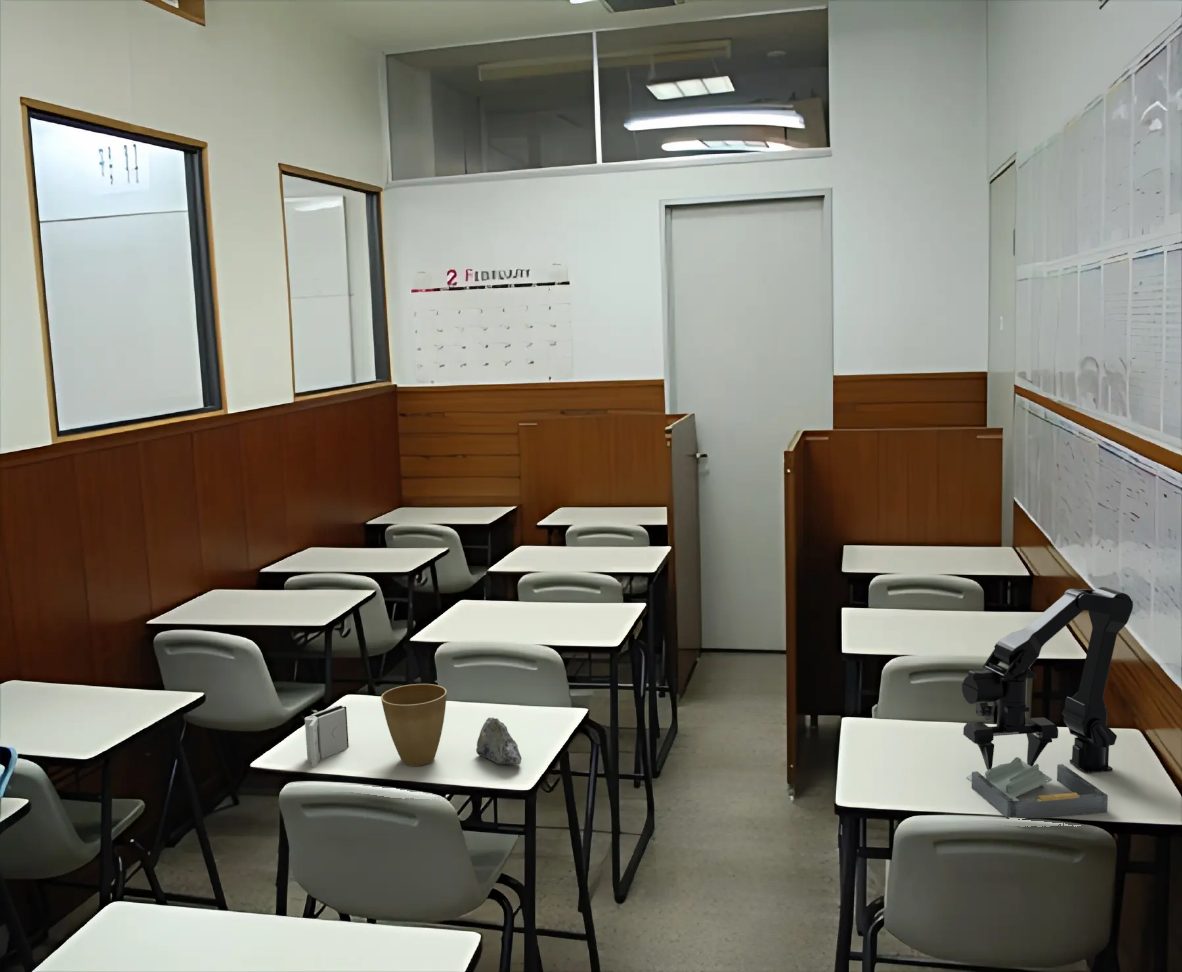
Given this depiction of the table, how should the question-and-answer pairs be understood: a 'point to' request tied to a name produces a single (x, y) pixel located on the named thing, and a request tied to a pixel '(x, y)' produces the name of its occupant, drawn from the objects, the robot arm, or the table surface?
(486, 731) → the mineral rock
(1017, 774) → the metal bracket
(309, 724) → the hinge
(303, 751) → the table surface
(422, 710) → the plant pot
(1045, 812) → the rail dock
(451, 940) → the table surface
